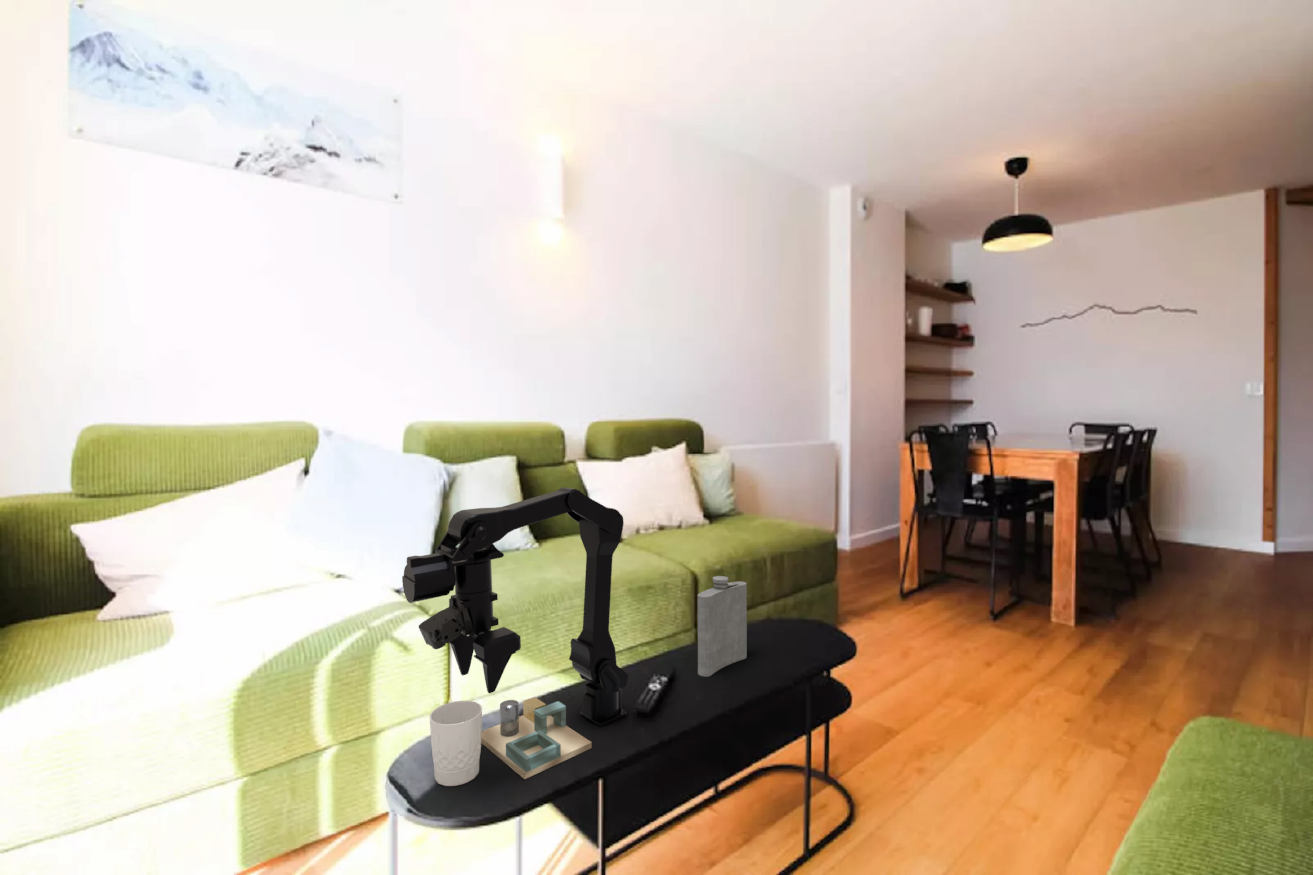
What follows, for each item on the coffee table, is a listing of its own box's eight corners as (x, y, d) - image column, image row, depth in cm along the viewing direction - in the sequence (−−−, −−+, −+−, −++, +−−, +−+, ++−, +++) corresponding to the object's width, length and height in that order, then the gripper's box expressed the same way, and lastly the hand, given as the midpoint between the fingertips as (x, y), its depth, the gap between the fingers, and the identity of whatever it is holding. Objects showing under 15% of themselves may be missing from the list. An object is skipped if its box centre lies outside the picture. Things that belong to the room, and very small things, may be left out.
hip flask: (706, 678, 130) (705, 586, 129) (691, 672, 133) (691, 582, 132) (749, 656, 141) (749, 572, 141) (735, 652, 144) (735, 569, 144)
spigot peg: (513, 725, 108) (512, 698, 108) (522, 732, 106) (521, 704, 106) (497, 731, 106) (496, 704, 106) (506, 738, 104) (505, 710, 104)
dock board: (540, 713, 115) (539, 690, 115) (591, 748, 103) (591, 721, 103) (476, 738, 106) (475, 713, 106) (524, 779, 94) (524, 750, 94)
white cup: (488, 759, 100) (487, 699, 99) (475, 788, 92) (474, 724, 91) (440, 760, 99) (439, 701, 99) (423, 790, 91) (422, 725, 91)
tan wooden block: (534, 711, 114) (534, 696, 114) (546, 718, 111) (545, 704, 111) (523, 715, 112) (523, 701, 112) (534, 723, 109) (534, 708, 109)
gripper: (401, 588, 98) (405, 681, 99) (451, 614, 85) (455, 722, 86) (465, 574, 106) (468, 661, 107) (520, 596, 93) (524, 695, 93)
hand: (477, 683), depth 98 cm, fingers open, 9 cm apart
